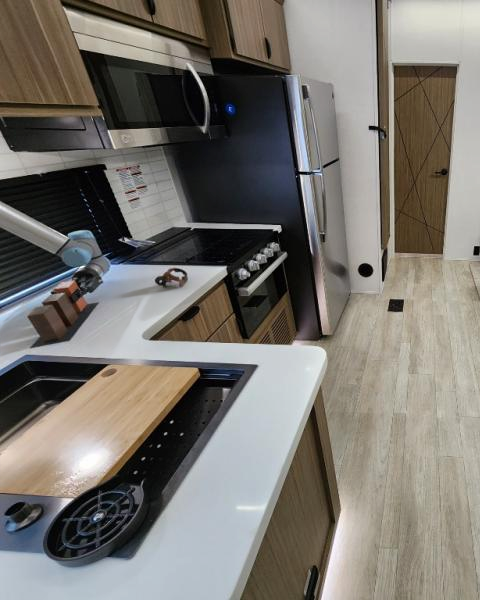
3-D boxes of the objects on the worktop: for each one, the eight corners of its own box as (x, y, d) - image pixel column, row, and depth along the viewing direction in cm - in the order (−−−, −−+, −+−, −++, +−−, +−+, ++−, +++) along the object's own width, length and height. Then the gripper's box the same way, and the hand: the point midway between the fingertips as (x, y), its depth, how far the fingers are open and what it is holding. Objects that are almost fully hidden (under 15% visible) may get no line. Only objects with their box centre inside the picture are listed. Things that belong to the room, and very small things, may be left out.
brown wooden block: (56, 328, 112) (40, 302, 107) (63, 319, 117) (49, 295, 112) (71, 325, 114) (57, 300, 109) (78, 317, 118) (64, 292, 114)
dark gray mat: (67, 308, 125) (67, 307, 125) (100, 303, 129) (99, 302, 128) (30, 350, 103) (28, 348, 102) (70, 342, 106) (69, 340, 106)
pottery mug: (176, 279, 148) (180, 264, 145) (190, 292, 146) (194, 277, 143) (147, 284, 137) (151, 268, 134) (162, 297, 135) (166, 281, 132)
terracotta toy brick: (66, 314, 119) (52, 289, 114) (73, 306, 124) (60, 282, 119) (81, 311, 121) (68, 287, 116) (87, 304, 125) (75, 280, 121)
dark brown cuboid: (43, 343, 105) (25, 316, 100) (51, 333, 110) (35, 307, 105) (59, 339, 106) (43, 313, 101) (67, 330, 111) (52, 304, 106)
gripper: (117, 280, 139) (98, 305, 120) (65, 288, 133) (36, 316, 114) (109, 263, 135) (88, 287, 116) (56, 271, 129) (24, 296, 110)
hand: (63, 301), depth 115 cm, fingers closed on terracotta toy brick, 4 cm apart
